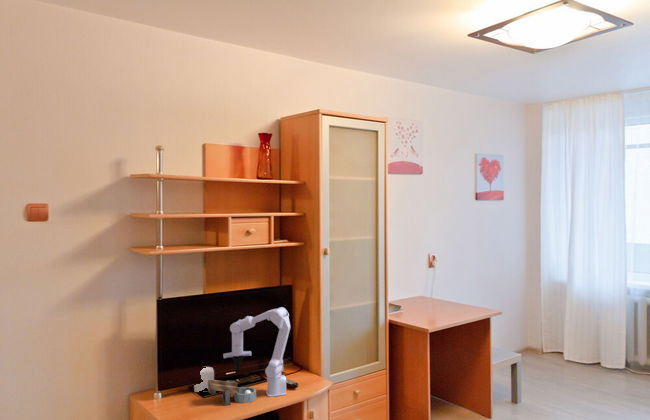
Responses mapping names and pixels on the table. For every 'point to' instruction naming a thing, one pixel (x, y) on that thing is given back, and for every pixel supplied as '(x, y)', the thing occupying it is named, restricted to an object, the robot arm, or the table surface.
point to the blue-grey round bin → (245, 395)
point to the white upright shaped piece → (204, 378)
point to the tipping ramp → (222, 386)
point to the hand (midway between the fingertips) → (237, 370)
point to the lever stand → (226, 397)
